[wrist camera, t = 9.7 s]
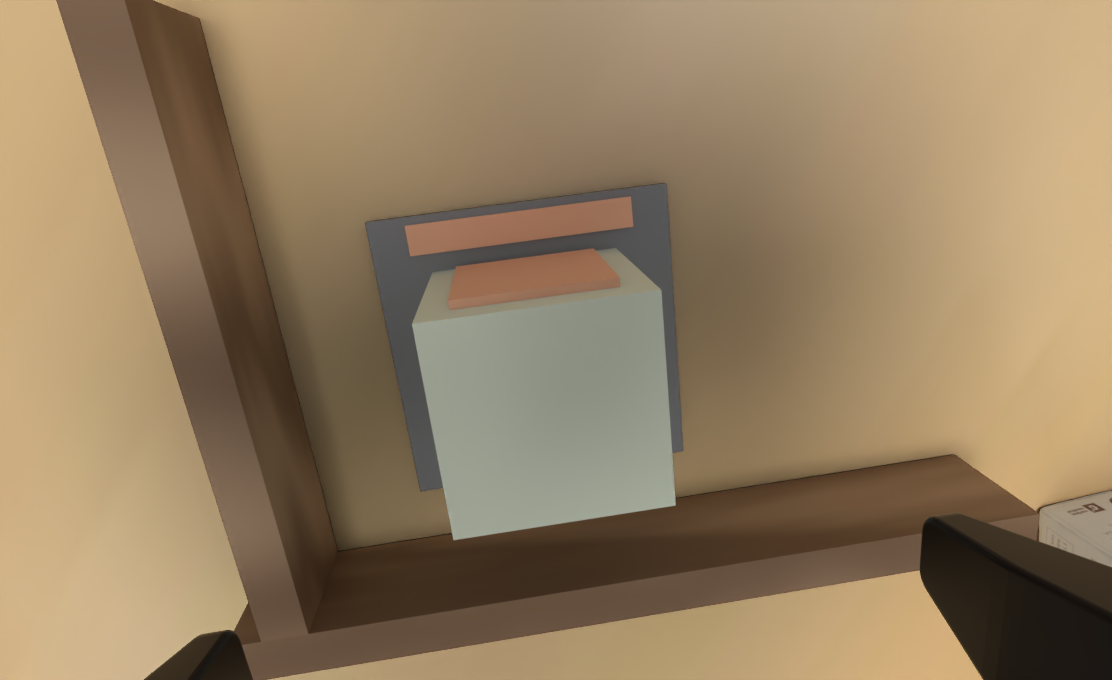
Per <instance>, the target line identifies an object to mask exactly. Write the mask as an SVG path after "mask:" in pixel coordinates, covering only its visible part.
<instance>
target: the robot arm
mask: <svg viewBox="0 0 1112 680" xmlns="http://www.w3.org/2000/svg"><path fill="white" fill-rule="evenodd" d="M920 575H921V579H922V582H923V584H924V586H925V588H926V590H927V592H928V593H929V595H930V596H931V598H932V599H933V601H934V603H935V604H936V606H937V607H938V609H939V611H940V612H941V614H942V615H943V617H944V618H945V620H946V622H947V623H948V625H949V626H950V628H951V630H952V631H953V633H954V634H955V636H956V637H957V639H958V641H959V642H960V644H961V645H962V647H963V649H964V650H965V652H966V653H967V655H968V656H969V658H970V660H971V661H972V663H973V664H974V666H975V668H976V669H977V671H978V672H979V674H980V675H981V677H982V679H983V680H1112V567H1110V566H1107V565H1104V564H1101V563H1099V562H1096V561H1093V560H1090V559H1087V558H1085V557H1082V556H1079V555H1076V554H1073V553H1070V552H1068V551H1065V550H1062V549H1059V548H1056V547H1054V546H1051V545H1048V544H1045V543H1042V542H1040V541H1037V540H1034V539H1031V538H1028V537H1026V536H1023V535H1020V534H1017V533H1014V532H1012V531H1009V530H1006V529H1003V528H1000V527H997V526H995V525H992V524H989V523H986V522H983V521H981V520H978V519H975V518H972V517H969V516H967V515H964V514H961V513H949V514H943V515H936V516H931V517H929V518H927V519H926V520H925V522H924V524H923V528H922V541H921V555H920ZM144 680H253V678H252V675H251V672H250V669H249V666H248V663H247V660H246V657H245V654H244V651H243V648H242V645H241V642H240V639H239V637H238V635H237V634H236V633H235V632H234V631H231V630H225V631H219V632H213V633H206V634H202V635H199V636H197V637H196V638H194V639H193V640H192V641H191V642H189V643H188V644H187V645H186V646H185V647H183V648H182V649H181V650H180V651H178V652H177V653H176V654H175V655H173V656H172V657H171V658H170V659H169V660H167V661H166V662H165V663H164V664H162V665H161V666H160V667H159V668H157V669H156V670H155V671H154V672H153V673H151V674H150V675H149V676H148V677H146V678H145V679H144Z"/></svg>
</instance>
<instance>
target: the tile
mask: <svg viewBox="0 0 1112 680" xmlns="http://www.w3.org/2000/svg"><path fill="white" fill-rule="evenodd" d="M365 226H366V230H367V235H368V240H369V245H370V250H371V255H372V259H373V264H374V269H375V274H376V279H377V284H378V288H379V293H380V298H381V303H382V308H383V313H384V317H385V322H386V327H387V332H388V337H389V342H390V346H391V351H392V356H393V361H394V366H395V371H396V375H397V380H398V385H399V390H400V395H401V400H402V404H403V409H404V414H405V419H406V424H407V429H408V433H409V438H410V443H411V448H412V453H413V458H414V462H415V467H416V472H417V477H418V482H419V487H420V491H426V490H433V489H439V488H443V484H442V479H441V473H440V468H439V463H438V458H437V452H436V447H435V442H434V437H433V432H432V426H431V421H430V416H429V411H428V405H427V400H426V395H425V390H424V385H423V379H422V374H421V369H420V364H419V358H418V353H417V348H416V343H415V338H414V332H413V327H412V323H413V320H414V318H415V315H416V313H417V310H418V307H419V305H420V302H421V300H422V297H423V295H424V292H425V290H426V287H427V285H428V282H429V280H430V277H431V275H432V272H437V271H445V270H453V269H456V266H464V265H471V264H479V263H487V262H494V261H502V260H509V259H517V258H524V257H532V256H539V255H547V254H554V253H562V252H570V251H577V250H585V249H592V248H594V249H595V250H603V249H611V248H616V249H618V250H619V251H620V252H621V253H622V254H623V255H624V256H625V257H626V258H627V259H628V260H629V261H631V262H632V263H633V264H634V265H635V266H636V267H637V268H638V269H639V270H640V271H641V272H642V273H644V274H645V275H646V276H647V277H648V278H649V279H650V280H651V281H652V282H653V283H654V284H655V285H657V286H658V287H659V288H660V289H661V292H662V307H663V322H664V337H665V352H666V367H667V382H668V397H669V412H670V427H671V442H672V453H674V452H681V451H683V438H682V422H681V407H680V391H679V375H678V359H677V343H676V327H675V311H674V295H673V280H672V264H671V248H670V232H669V216H668V200H667V184H665V183H660V184H652V185H645V186H637V187H629V188H621V189H614V190H606V191H598V192H591V193H583V194H575V195H568V196H560V197H552V198H544V199H537V200H529V201H521V202H514V203H506V204H498V205H490V206H483V207H475V208H467V209H460V210H452V211H444V212H437V213H429V214H421V215H413V216H406V217H398V218H390V219H383V220H375V221H367V222H366V223H365Z"/></svg>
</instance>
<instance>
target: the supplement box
mask: <svg viewBox="0 0 1112 680" xmlns="http://www.w3.org/2000/svg"><path fill="white" fill-rule="evenodd" d="M1039 514H1040V518H1039V541H1040V542H1042V543H1045V544H1048V545H1051V546H1054V547H1056V548H1059V549H1062V550H1065V551H1068V552H1070V553H1073V554H1076V555H1079V556H1082V557H1085V558H1087V559H1090V560H1093V561H1096V562H1099V563H1101V564H1104V565H1107V566H1110V567H1112V490H1111V491H1106V492H1102V493H1098V494H1094V495H1090V496H1086V497H1081V498H1077V499H1073V500H1069V501H1065V502H1061V503H1057V504H1053V505H1049V506H1045V507H1043V508H1041V509H1040V512H1039Z"/></svg>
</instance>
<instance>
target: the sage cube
mask: <svg viewBox="0 0 1112 680" xmlns="http://www.w3.org/2000/svg"><path fill="white" fill-rule="evenodd" d="M412 327H413V332H414V338H415V343H416V348H417V353H418V358H419V364H420V369H421V374H422V379H423V385H424V390H425V395H426V400H427V405H428V411H429V416H430V421H431V426H432V432H433V437H434V442H435V447H436V452H437V458H438V463H439V468H440V473H441V479H442V484H443V489H444V494H445V499H446V505H447V510H448V515H449V520H450V526H451V531H452V536H453V540H458V539H465V538H471V537H477V536H484V535H490V534H497V533H503V532H509V531H516V530H522V529H529V528H535V527H541V526H548V525H554V524H561V523H567V522H573V521H580V520H586V519H593V518H599V517H605V516H612V515H618V514H625V513H631V512H637V511H644V510H650V509H657V508H663V507H669V506H676V502H675V487H674V472H673V457H672V442H671V427H670V412H669V397H668V382H667V367H666V352H665V337H664V322H663V307H662V292H661V289H660V288H659V287H658V286H657V285H655V284H654V283H653V282H652V281H651V280H650V279H649V278H648V277H647V276H646V275H645V274H644V273H642V272H641V271H640V270H639V269H638V268H637V267H636V266H635V265H634V264H633V263H632V262H631V261H629V260H628V259H627V258H626V257H625V256H624V255H623V254H622V253H621V252H620V251H619V250H618V249H616V248H611V249H603V250H595V249H594V248H592V249H585V250H577V251H570V252H562V253H554V254H547V255H539V256H532V257H524V258H517V259H509V260H502V261H494V262H487V263H479V264H471V265H464V266H456V269H453V270H445V271H437V272H432V275H431V277H430V280H429V282H428V285H427V287H426V290H425V292H424V295H423V297H422V300H421V302H420V305H419V307H418V310H417V313H416V315H415V318H414V320H413V323H412Z"/></svg>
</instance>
